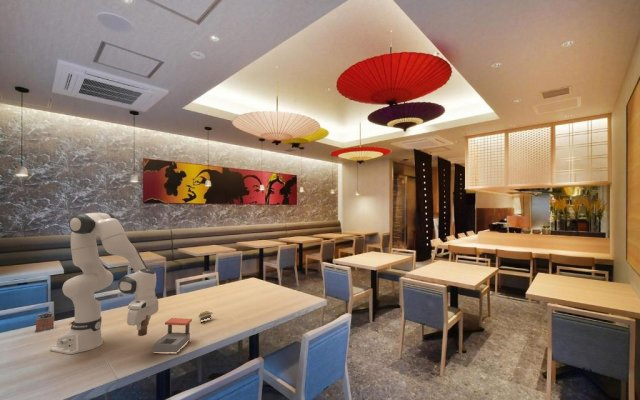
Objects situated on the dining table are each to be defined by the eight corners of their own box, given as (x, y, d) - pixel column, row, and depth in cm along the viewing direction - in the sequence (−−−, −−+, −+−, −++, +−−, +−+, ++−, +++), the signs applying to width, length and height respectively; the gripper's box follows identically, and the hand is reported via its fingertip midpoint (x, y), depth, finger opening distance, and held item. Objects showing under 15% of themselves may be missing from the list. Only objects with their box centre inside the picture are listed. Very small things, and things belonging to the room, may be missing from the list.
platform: (186, 324, 187) (187, 314, 187) (210, 316, 202) (211, 306, 202) (198, 328, 180) (198, 318, 181) (221, 319, 196) (222, 310, 196)
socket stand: (153, 353, 148) (154, 329, 148) (170, 339, 164) (171, 318, 164) (176, 354, 147) (177, 330, 148) (191, 340, 163) (192, 318, 164)
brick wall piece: (53, 327, 177) (54, 310, 177) (53, 329, 174) (54, 312, 175) (35, 330, 171) (36, 313, 172) (35, 332, 169) (36, 315, 169)
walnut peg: (136, 335, 148) (137, 316, 148) (141, 332, 152) (142, 313, 152) (143, 336, 147) (145, 316, 148) (148, 333, 151) (150, 313, 152)
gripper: (151, 294, 161) (149, 319, 160) (125, 306, 140) (123, 335, 140) (162, 295, 160) (160, 320, 160) (138, 307, 140) (135, 336, 139)
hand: (142, 327), depth 150 cm, fingers closed on walnut peg, 4 cm apart
